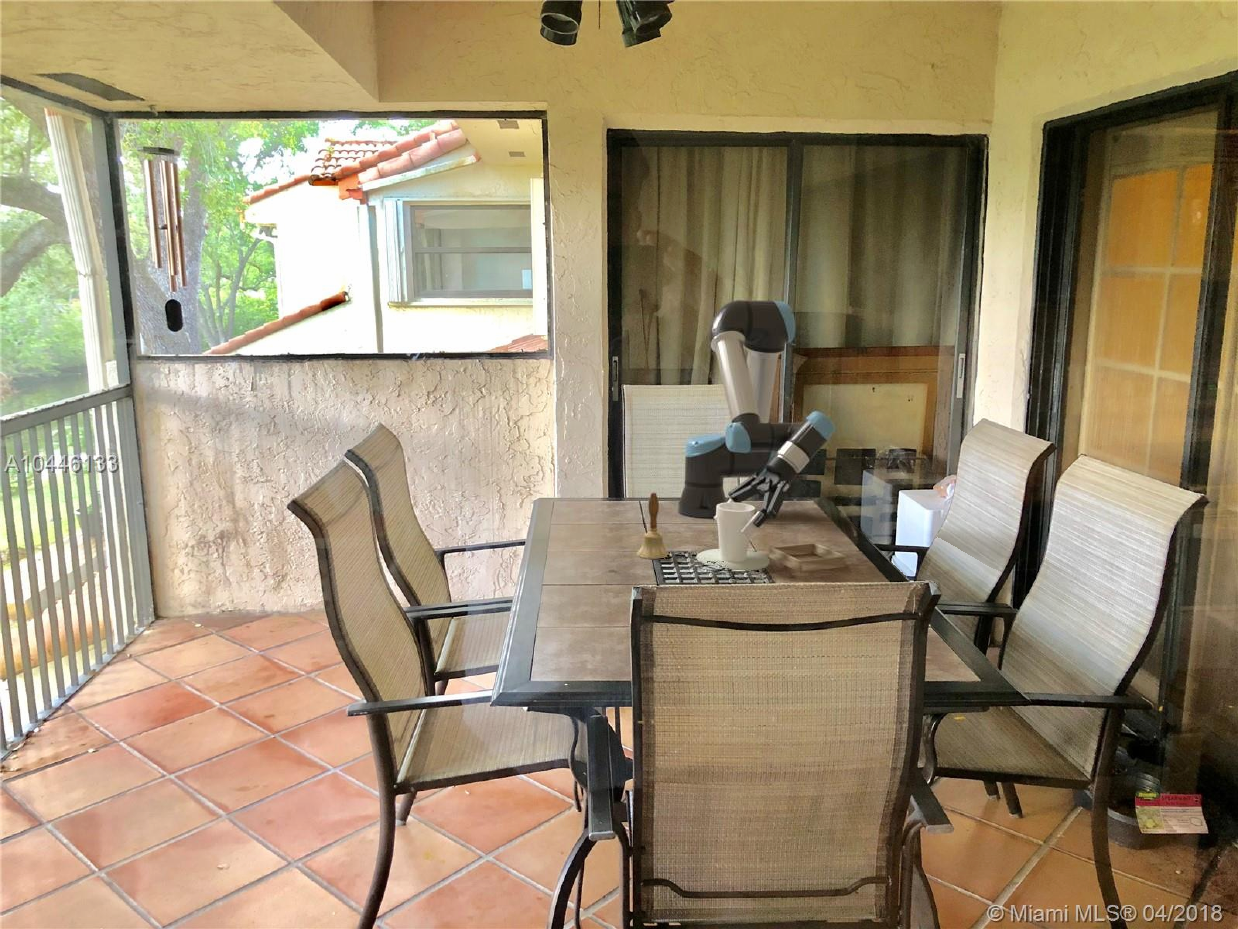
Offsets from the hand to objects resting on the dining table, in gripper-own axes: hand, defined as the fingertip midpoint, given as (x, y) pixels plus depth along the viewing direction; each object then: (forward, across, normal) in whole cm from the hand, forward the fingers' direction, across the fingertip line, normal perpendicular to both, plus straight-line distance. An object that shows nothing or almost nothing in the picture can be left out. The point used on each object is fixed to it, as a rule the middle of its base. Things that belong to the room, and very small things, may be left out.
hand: (730, 528), depth 222 cm
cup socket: (-7, -7, -19) cm, 21 cm away
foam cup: (+5, 0, -6) cm, 8 cm away
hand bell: (+17, +11, +5) cm, 21 cm away
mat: (+5, 0, -7) cm, 8 cm away
